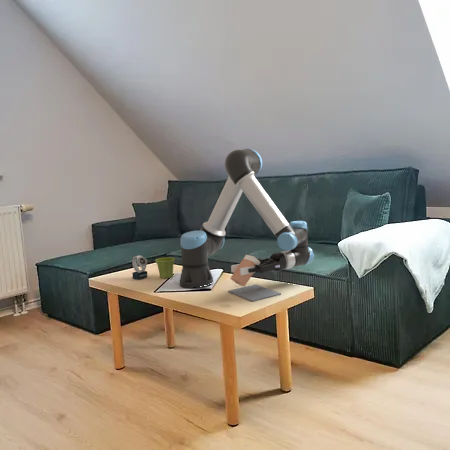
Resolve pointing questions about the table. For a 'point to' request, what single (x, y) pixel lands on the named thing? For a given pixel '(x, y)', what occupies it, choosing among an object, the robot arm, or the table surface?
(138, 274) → the watch
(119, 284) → the table surface
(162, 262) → the plant pot
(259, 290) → the slate mat
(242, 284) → the block
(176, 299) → the table surface
